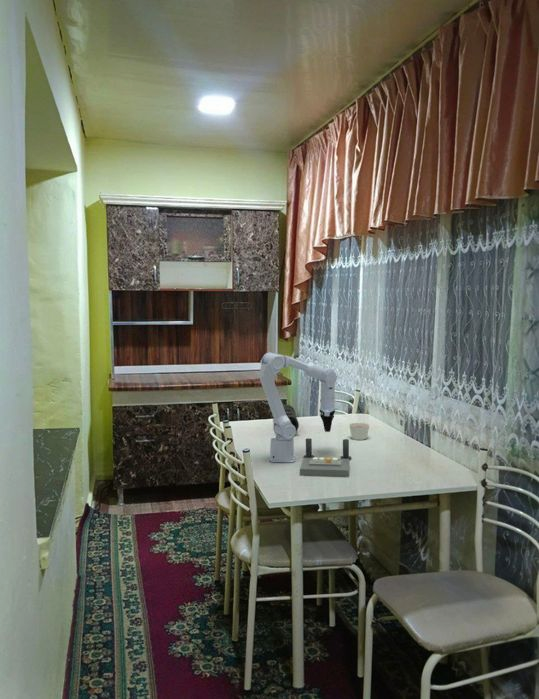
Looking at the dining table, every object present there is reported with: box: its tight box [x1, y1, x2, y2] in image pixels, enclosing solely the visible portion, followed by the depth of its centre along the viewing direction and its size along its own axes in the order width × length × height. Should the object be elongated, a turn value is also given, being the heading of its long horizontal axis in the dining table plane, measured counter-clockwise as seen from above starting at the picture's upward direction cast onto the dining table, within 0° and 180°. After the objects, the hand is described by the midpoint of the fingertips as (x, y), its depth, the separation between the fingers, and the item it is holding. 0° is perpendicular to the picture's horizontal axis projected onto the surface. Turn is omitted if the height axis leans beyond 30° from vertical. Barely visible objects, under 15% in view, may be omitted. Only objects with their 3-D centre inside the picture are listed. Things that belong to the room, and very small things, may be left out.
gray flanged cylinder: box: [303, 438, 315, 458], centre depth 237 cm, size 4×4×8 cm
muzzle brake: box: [283, 403, 300, 432], centre depth 285 cm, size 10×28×10 cm, turn 2°
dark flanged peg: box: [339, 438, 352, 462], centre depth 234 cm, size 4×4×8 cm
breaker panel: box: [299, 456, 350, 478], centre depth 221 cm, size 18×14×5 cm
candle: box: [349, 422, 370, 441], centre depth 266 cm, size 9×9×6 cm
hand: (327, 429), depth 242 cm, fingers open, 6 cm apart
